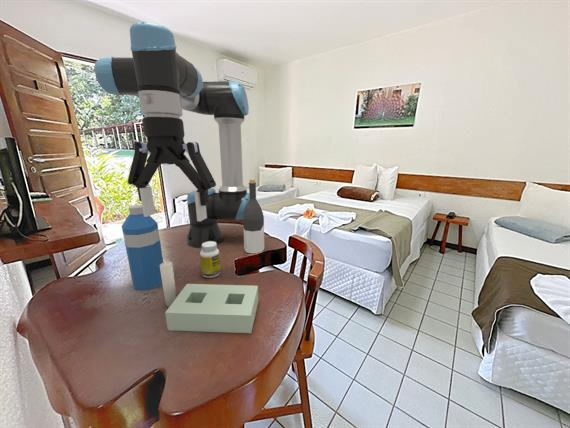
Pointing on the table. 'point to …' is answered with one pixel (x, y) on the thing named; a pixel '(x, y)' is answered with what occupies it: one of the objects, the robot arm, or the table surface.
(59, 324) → the table surface
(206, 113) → the robot arm
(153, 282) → the water bottle
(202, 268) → the pill bottle
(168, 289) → the dowel
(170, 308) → the socket block
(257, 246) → the wine bottle
